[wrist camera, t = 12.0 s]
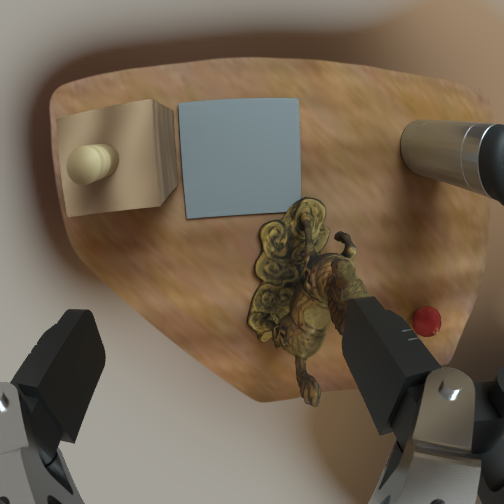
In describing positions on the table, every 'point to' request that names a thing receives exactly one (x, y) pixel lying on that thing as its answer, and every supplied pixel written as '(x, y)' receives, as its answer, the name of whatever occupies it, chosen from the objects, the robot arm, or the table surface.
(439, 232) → the table surface
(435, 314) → the onion
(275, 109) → the mat
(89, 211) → the cover
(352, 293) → the figurine
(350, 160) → the table surface
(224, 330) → the table surface
